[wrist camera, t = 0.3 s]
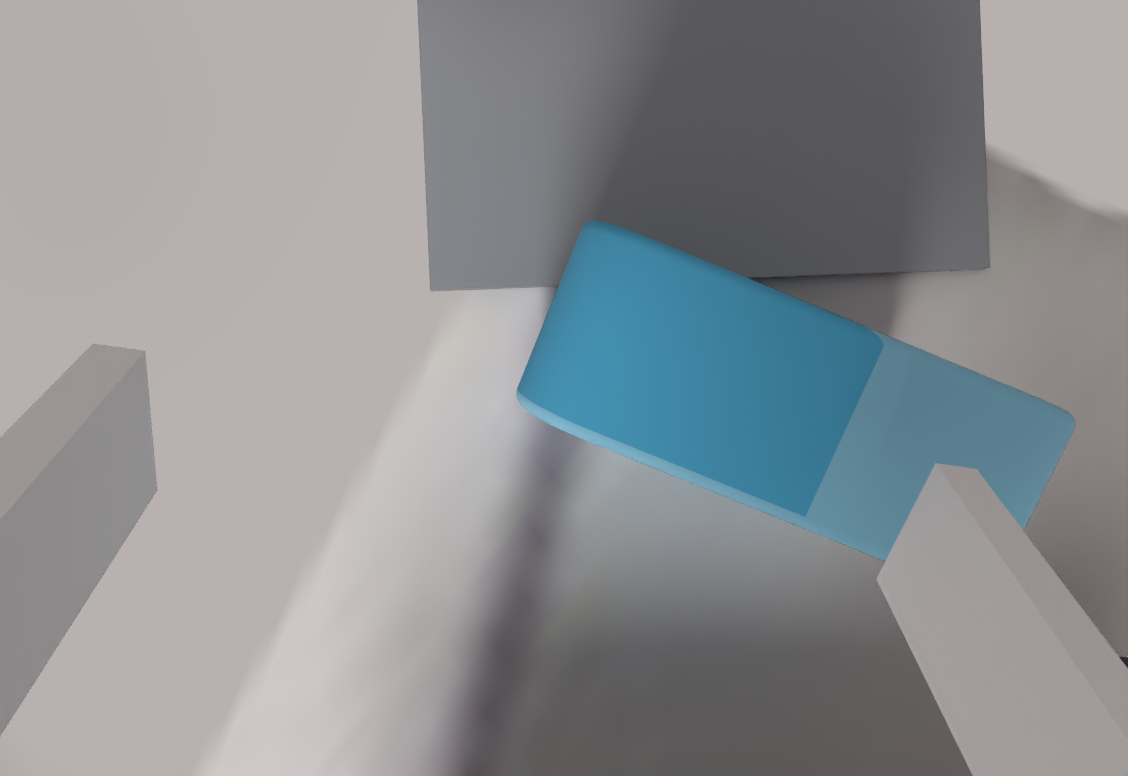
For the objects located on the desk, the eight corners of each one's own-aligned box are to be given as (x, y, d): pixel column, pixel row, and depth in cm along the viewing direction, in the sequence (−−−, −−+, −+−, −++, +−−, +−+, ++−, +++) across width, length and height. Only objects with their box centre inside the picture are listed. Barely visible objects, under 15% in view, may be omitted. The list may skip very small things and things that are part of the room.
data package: (896, 368, 29) (1113, 427, 17) (842, 483, 30) (1018, 617, 18) (583, 239, 29) (586, 210, 17) (535, 358, 29) (506, 411, 18)
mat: (983, 269, 30) (989, 267, 29) (431, 291, 29) (430, 289, 29) (969, -118, 30) (974, -125, 29) (414, -104, 29) (412, -111, 29)
